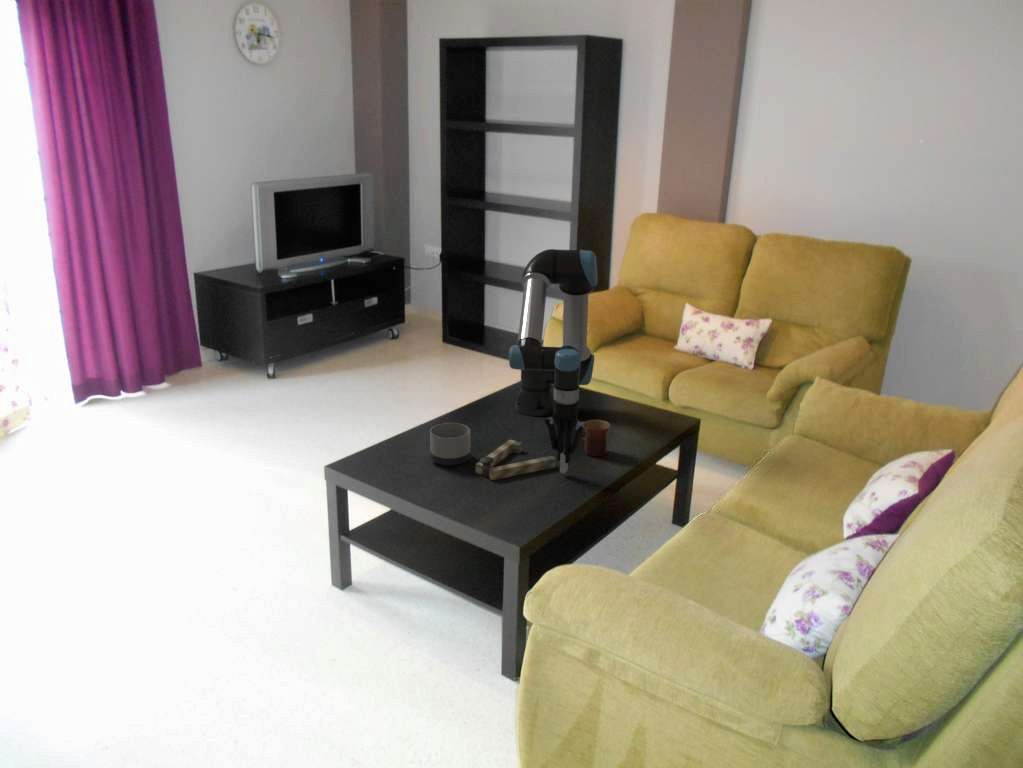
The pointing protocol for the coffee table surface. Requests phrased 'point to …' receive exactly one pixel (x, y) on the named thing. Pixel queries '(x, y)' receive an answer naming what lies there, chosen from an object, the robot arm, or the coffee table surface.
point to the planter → (450, 443)
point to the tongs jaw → (522, 467)
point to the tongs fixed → (497, 456)
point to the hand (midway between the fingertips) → (563, 471)
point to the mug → (596, 437)
